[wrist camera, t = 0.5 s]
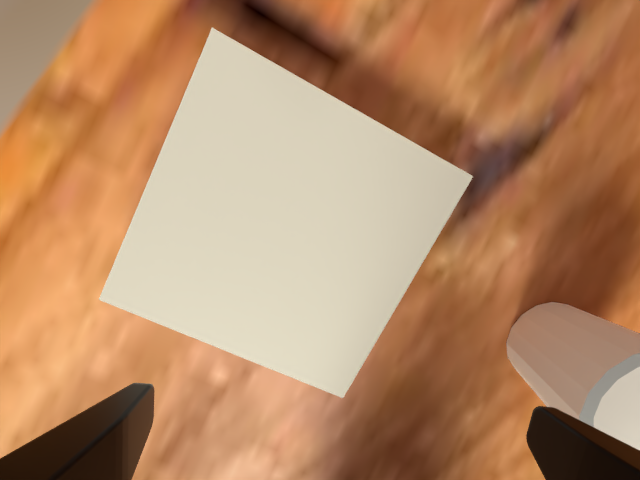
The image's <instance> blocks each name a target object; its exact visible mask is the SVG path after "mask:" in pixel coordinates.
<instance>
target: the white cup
mask: <svg viewBox="0 0 640 480" xmlns="http://www.w3.org/2000/svg"><path fill="white" fill-rule="evenodd" d="M506 345H507V356H508V358H509V360H510V362H511V363H512V365H513V367H514V368H515V370H516V371H517V372H518V373H519V374H520V375H521V377H522V378H523V379H524V380H525V381H526V382H527V384H528V385H529V386H530V387H531V388H532V389H533V391H534V392H535V393H536V394H537V395H538V396H539V398H540V399H541V400H542V401H543V402H544V403H545V405H546V406H547V407H554V408H556V409H558V410H560V411H562V412H564V413H566V414H568V415H570V416H572V417H574V418H576V419H578V420H580V421H582V422H584V423H586V424H588V425H590V426H592V427H594V428H596V429H598V430H600V431H602V432H604V433H606V434H608V435H610V436H612V437H614V438H616V439H618V440H620V441H622V442H624V443H626V444H628V445H630V446H632V447H634V448H636V449H638V450H640V333H637V332H635V331H632V330H630V329H627V328H625V327H622V326H620V325H617V324H615V323H612V322H610V321H607V320H605V319H602V318H600V317H597V316H595V315H593V314H590V313H588V312H585V311H583V310H580V309H578V308H575V307H573V306H570V305H568V304H562V303H556V302H549V303H545V304H541V305H536V306H535V307H533V308H531V309H530V310H528V311H527V312H525V313H524V314H522V315H521V316H520V317H519V319H518V320H517V321H516V322H515V324H514V325H513V326H512V327H511V330H510V333H509V336H508V339H507V342H506Z"/></svg>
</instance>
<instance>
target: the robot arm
mask: <svg viewBox="0 0 640 480" xmlns="http://www.w3.org/2000/svg"><path fill="white" fill-rule="evenodd" d="M153 417H154V387H153V385H152V384H145V383H133V384H131V385H129V386H127V387H125V388H124V389H122V390H120V391H118V392H117V393H115V394H113V395H111V396H110V397H108V398H106V399H104V400H103V401H101V402H99V403H97V404H96V405H94V406H92V407H90V408H88V409H87V410H85V411H83V412H81V413H80V414H78V415H76V416H74V417H73V418H71V419H69V420H67V421H66V422H64V423H62V424H60V425H59V426H57V427H55V428H53V429H51V430H50V431H48V432H46V433H44V434H43V435H41V436H39V437H37V438H36V439H34V440H32V441H30V442H29V443H27V444H25V445H23V446H22V447H20V448H18V449H16V450H15V451H13V452H11V453H9V454H7V455H6V456H4V457H2V458H0V480H132V477H133V474H134V472H135V469H136V467H137V464H138V461H139V459H140V456H141V454H142V451H143V448H144V446H145V443H146V441H147V438H148V435H149V433H150V430H151V427H152V423H153ZM527 443H528V446H529V448H530V450H531V452H532V454H533V456H534V458H535V460H536V462H537V464H538V466H539V468H540V470H541V471H542V473H543V475H544V477H545V479H546V480H640V450H638V449H636V448H634V447H632V446H630V445H628V444H626V443H624V442H622V441H620V440H618V439H616V438H614V437H612V436H610V435H608V434H606V433H604V432H602V431H600V430H598V429H596V428H594V427H592V426H590V425H588V424H586V423H584V422H582V421H580V420H578V419H576V418H574V417H572V416H570V415H568V414H566V413H564V412H562V411H560V410H558V409H556V408H554V407H543V406H538V407H536V408H535V409H534V410H533V413H532V417H531V420H530V424H529V428H528V431H527Z"/></svg>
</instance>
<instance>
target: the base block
mask: <svg viewBox="0 0 640 480" xmlns="http://www.w3.org/2000/svg"><path fill="white" fill-rule="evenodd" d="M472 178H473V176H472V175H470V174H468V173H466V172H465V171H463V170H461V169H459V168H458V167H456V166H454V165H452V164H451V163H449V162H447V161H445V160H444V159H442V158H440V157H438V156H437V155H435V154H433V153H431V152H430V151H428V150H426V149H424V148H423V147H421V146H419V145H417V144H416V143H414V142H412V141H410V140H409V139H407V138H405V137H403V136H402V135H400V134H398V133H396V132H394V131H393V130H391V129H389V128H387V127H386V126H384V125H382V124H380V123H379V122H377V121H375V120H373V119H372V118H370V117H368V116H366V115H365V114H363V113H361V112H359V111H358V110H356V109H354V108H352V107H351V106H349V105H347V104H345V103H344V102H342V101H340V100H338V99H337V98H335V97H333V96H331V95H330V94H328V93H326V92H324V91H323V90H321V89H319V88H317V87H316V86H314V85H312V84H310V83H309V82H307V81H305V80H303V79H302V78H300V77H298V76H296V75H295V74H293V73H291V72H289V71H287V70H286V69H284V68H282V67H280V66H279V65H277V64H275V63H273V62H272V61H270V60H268V59H266V58H265V57H263V56H261V55H259V54H258V53H256V52H254V51H252V50H251V49H249V48H247V47H245V46H244V45H242V44H240V43H238V42H237V41H235V40H233V39H231V38H230V37H228V36H226V35H224V34H223V33H221V32H219V31H217V30H216V29H214V28H212V29H211V32H210V34H209V36H208V39H207V41H206V44H205V46H204V48H203V51H202V53H201V56H200V58H199V60H198V63H197V65H196V68H195V70H194V72H193V75H192V77H191V80H190V82H189V84H188V87H187V89H186V92H185V94H184V96H183V99H182V101H181V104H180V106H179V108H178V111H177V113H176V116H175V118H174V120H173V123H172V125H171V128H170V130H169V132H168V135H167V137H166V140H165V142H164V144H163V147H162V149H161V152H160V154H159V156H158V159H157V161H156V164H155V166H154V168H153V171H152V173H151V176H150V178H149V180H148V183H147V185H146V188H145V190H144V192H143V195H142V197H141V200H140V202H139V204H138V207H137V209H136V212H135V214H134V216H133V219H132V221H131V224H130V226H129V228H128V231H127V233H126V236H125V238H124V240H123V243H122V245H121V248H120V250H119V252H118V255H117V257H116V260H115V262H114V264H113V267H112V269H111V272H110V274H109V276H108V279H107V281H106V284H105V286H104V288H103V291H102V293H101V296H100V298H99V300H101V301H103V302H106V303H108V304H111V305H113V306H116V307H118V308H121V309H123V310H126V311H128V312H131V313H133V314H136V315H138V316H140V317H143V318H145V319H148V320H150V321H153V322H155V323H158V324H160V325H163V326H165V327H168V328H170V329H173V330H175V331H178V332H180V333H183V334H185V335H188V336H190V337H192V338H195V339H197V340H200V341H202V342H205V343H207V344H210V345H212V346H215V347H217V348H220V349H222V350H225V351H227V352H230V353H232V354H235V355H237V356H240V357H242V358H244V359H247V360H249V361H252V362H254V363H257V364H259V365H262V366H264V367H267V368H269V369H272V370H274V371H277V372H279V373H282V374H284V375H287V376H289V377H292V378H294V379H296V380H299V381H301V382H304V383H306V384H309V385H311V386H314V387H316V388H319V389H321V390H324V391H326V392H329V393H331V394H334V395H336V396H339V397H341V398H343V397H344V396H345V394H346V392H347V391H348V389H349V387H350V385H351V384H352V382H353V380H354V379H355V377H356V375H357V374H358V372H359V370H360V368H361V367H362V365H363V363H364V362H365V360H366V358H367V357H368V355H369V353H370V351H371V350H372V348H373V346H374V345H375V343H376V341H377V339H378V338H379V336H380V334H381V333H382V331H383V329H384V328H385V326H386V324H387V322H388V321H389V319H390V317H391V316H392V314H393V312H394V311H395V309H396V307H397V305H398V304H399V302H400V300H401V299H402V297H403V295H404V293H405V292H406V290H407V288H408V287H409V285H410V283H411V282H412V280H413V278H414V276H415V275H416V273H417V271H418V270H419V268H420V266H421V265H422V263H423V261H424V259H425V258H426V256H427V254H428V253H429V251H430V249H431V247H432V246H433V244H434V242H435V241H436V239H437V237H438V236H439V234H440V232H441V230H442V229H443V227H444V225H445V224H446V222H447V220H448V219H449V217H450V215H451V213H452V212H453V210H454V208H455V207H456V205H457V203H458V201H459V200H460V198H461V196H462V195H463V193H464V191H465V190H466V188H467V186H468V184H469V183H470V181H471V179H472Z"/></svg>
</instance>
